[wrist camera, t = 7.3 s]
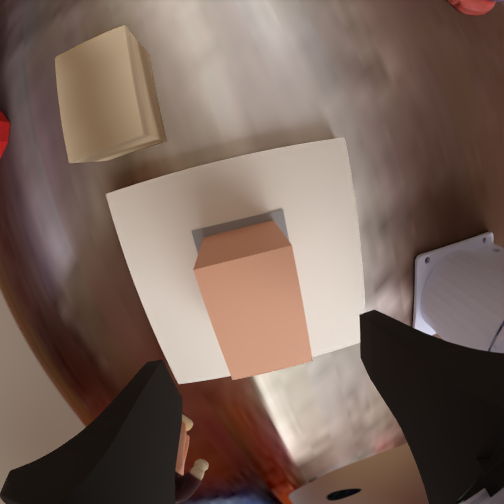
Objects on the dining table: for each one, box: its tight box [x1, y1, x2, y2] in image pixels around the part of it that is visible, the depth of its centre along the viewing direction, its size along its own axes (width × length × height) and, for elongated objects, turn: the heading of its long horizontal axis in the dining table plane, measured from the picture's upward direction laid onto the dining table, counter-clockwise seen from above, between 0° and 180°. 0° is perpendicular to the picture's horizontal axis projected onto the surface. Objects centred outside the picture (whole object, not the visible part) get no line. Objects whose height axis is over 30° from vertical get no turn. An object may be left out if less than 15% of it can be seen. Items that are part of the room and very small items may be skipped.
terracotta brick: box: [193, 220, 313, 380], centre depth 15 cm, size 4×6×5 cm, turn 13°
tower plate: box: [106, 137, 365, 384], centre depth 18 cm, size 14×14×2 cm
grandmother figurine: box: [175, 414, 208, 504], centre depth 17 cm, size 8×4×13 cm, turn 125°
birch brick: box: [55, 25, 167, 163], centre depth 13 cm, size 4×6×5 cm, turn 12°
